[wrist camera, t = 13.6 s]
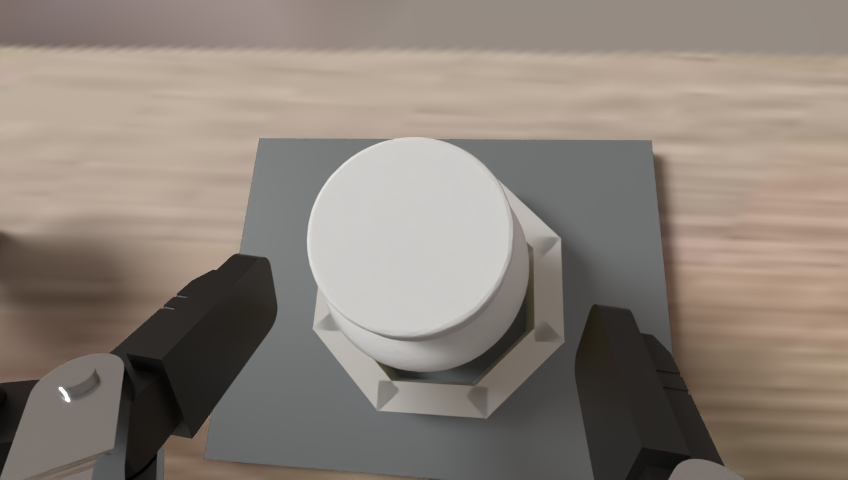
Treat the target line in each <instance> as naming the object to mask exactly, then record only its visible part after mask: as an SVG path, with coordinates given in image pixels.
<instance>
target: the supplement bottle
mask: <svg viewBox="0 0 848 480" xmlns="http://www.w3.org/2000/svg"><path fill="white" fill-rule="evenodd" d="M307 251H308V258H309V264H310V267H311V270H312V273H313V276H314V279H315V281H316V283H317V285H318V287H319V289H320V291H321V292H322V294H323V296H324V299H325V302H326V305H327V308H328V310H329V312H330V314H331V316H332V318H333V320H334V322H335V323H336V325H337V326H338V328H339V329H340V331H341V332H342V333H343V334H344V336H345V337H346V338H347V339H348V340H349V341H350V342H351V343H352V344H353V345H354V346H356V347H357V348H358V349H359V350H360V351H362V352H363V353H364V354H366V355H367V356H369V357H371V358H373V359H374V360H376V361H378V362H381V363H383V364H385V365H388V366H391V367H394V368H397V369H402V370H407V371H417V372H434V371H443V370H447V369H451V368H454V367H457V366H460V365H463V364H465V363H467V362H470V361H472V360H473V359H475V358H477V357H478V356H480V355H481V354H483V353H484V352H486V351H487V350H488V349H489V348H490V347H492V346H493V345H494V344H495V343H496V342H497V341H498V340H499V339H500V338H501V337H502V336H503V335H504V334H505V333H506V331H507V330H508V328H509V327H510V326H511V324H512V323H513V321H514V319H515V317H516V316H517V314H518V312H519V309H520V307H521V305H522V302H523V299H524V297H525V293H526V289H527V285H528V279H529V255H528V248H527V243H526V238H525V235H524V232H523V229H522V227H521V224H520V222H519V220H518V218H517V216H516V215H515V213H514V211H513V210H512V208H511V207H510V204H509V201H508V199H507V196H506V194H505V192H504V190H503V188H502V186H501V184H500V183H499V181H498V180H497V178H496V177H495V176H494V175H493V173H492V172H491V171H490V170H489V169H488V168H487V167H486V166H485V165H484V164H483V163H482V162H481V161H480V160H478V159H477V158H476V157H474V156H473V155H472V154H470V153H468V152H467V151H465V150H463V149H461V148H459V147H457V146H455V145H452V144H450V143H447V142H444V141H440V140H435V139H430V138H421V137H407V138H398V139H393V140H388V141H384V142H381V143H378V144H375V145H373V146H370V147H368V148H366V149H364V150H362V151H360V152H359V153H357V154H355V155H354V156H352V157H351V158H350V159H348V160H347V161H346V162H344V163H343V164H342V165H341V166H340V167H339V168H338V169H337V170H336V171H335V172H334V173H333V174H332V175H331V176H330V178H329V179H328V180H327V182H326V183H325V185H324V186H323V188H322V189H321V191H320V193H319V194H318V196H317V199H316V201H315V203H314V205H313V208H312V211H311V215H310V219H309V224H308V233H307Z"/></svg>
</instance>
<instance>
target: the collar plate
mask: <svg viewBox="0 0 848 480" xmlns="http://www.w3.org/2000/svg"><path fill="white" fill-rule="evenodd" d="M388 140H393V139H278V138H259V143H258V149H257V154H256V160H255V166H254V172H253V178H252V183H251V189H250V195H249V201H248V206H247V212H246V218H245V224H244V229H243V235H242V241H241V247H240V252H239V254H245V255H252V256H260V257H266V258H267V259H268V260H269V262H270V265H271V270H272V276H273V281H274V287H275V293H276V299H277V305H278V309H277V316H276V320H275V323H274V325H273V327H272V329H271V330H270V331H269V333H268V334H267V336H266V337H265V338H264V340H263V341H262V343H261V344H260V345H259V347H258V348H257V349H256V351H255V352H254V354H253V355H252V356H251V358H250V359H249V361H248V362H247V363H246V365H245V366H244V368H243V369H242V370H241V372H240V373H239V374H238V376H237V377H236V379H235V380H234V381H233V383H232V384H231V386H230V387H229V388H228V390H227V391H226V392H225V394H224V395H223V397H222V398H221V399H220V401H219V402H218V404H217V405H216V406H215V408H214V409H213V411H212V414H211V420H210V425H209V431H208V437H207V443H206V448H205V454H204V459H207V460H219V461H230V462H242V463H254V464H266V465H277V466H289V467H301V468H312V469H324V470H336V471H348V472H359V473H371V474H383V475H395V476H406V477H418V478H430V479H441V480H594V476H593V471H592V466H591V460H590V455H589V450H588V444H587V439H586V434H585V428H584V423H583V418H582V412H581V407H580V402H579V396H578V391H577V386H576V380H575V357H576V352H577V349H578V346H579V343H580V340H581V337H582V334H583V330H584V327H585V324H586V321H587V318H588V315H589V312H590V309H591V307H592V306H593V305H594V304H599V305H606V306H613V307H620V308H627V309H630V310H631V312H632V314H633V316H634V318H635V321H636V323H637V326H638V328H639V331H640V333H644V334H651V335H653V336H654V337H655V338H656V339H657V340H658V341H659V342H660V343H661V344H662V345H663V346H664V347H665V348H666V349H667V350H668V351H669V352H670V353H671V355H672V357H673V352H672V342H671V332H670V321H669V311H668V301H667V291H666V281H665V271H664V261H663V251H662V241H661V231H660V221H659V211H658V201H657V191H656V181H655V171H654V161H653V151H652V141H650V140H464V139H435V140H440V141H444V142H447V143H450V144H452V145H455V146H457V147H459V148H461V149H463V150H465V151H467V152H468V153H470V154H472V155H473V156H474V157H476V158H477V159H478V160H480V161H481V162H482V163H483V164H484V165H485V166H486V167H487V168H488V169H489V170H490V171H491V172H492V173H493V175H494V176H495V177H496V178H497V180H498V181H499V183H500V184H501V186H502V188H503V190H504V192H505V194H506V196H507V199H508V201H509V204H510V207H511V208H512V210H513V211H514V213H515V215H516V216H517V218H518V220H519V222H520V224H521V227H522V229H523V232H524V235H525V238H526V243H527V248H528V255H529V279H528V285H527V289H526V293H525V297H524V299H523V302H522V305H521V307H520V309H519V312H518V314H517V316H516V317H515V319H514V321H513V323H512V324H511V326H510V327H509V328H508V330H507V331H506V333H505V334H504V335H503V336H502V337H501V338H500V339H499V340H498V341H497V342H496V343H495V344H494V345H493V346H492V347H490V348H489V349H488V350H487V351H486V352H484V353H483V354H481V355H480V356H478V357H477V358H475V359H473V360H472V361H470V362H467V363H465V364H463V365H460V366H457V367H454V368H451V369H447V370H443V371H434V372H417V371H407V370H402V369H397V368H394V367H391V366H388V365H385V364H383V363H381V362H378V361H376V360H374V359H373V358H371V357H369V356H367V355H366V354H364V353H363V352H362V351H360V350H359V349H358V348H357V347H356V346H354V345H353V344H352V343H351V342H350V341H349V340H348V339H347V338H346V337H345V336H344V334H343V333H342V332H341V331H340V329H339V328H338V326H337V325H336V323H335V322H334V320H333V318H332V316H331V314H330V312H329V310H328V308H327V305H326V302H325V299H324V296H323V294H322V292H321V291H320V289H319V287H318V285H317V283H316V281H315V279H314V276H313V273H312V270H311V267H310V264H309V258H308V251H307V233H308V224H309V219H310V215H311V211H312V208H313V205H314V203H315V201H316V199H317V196H318V194H319V193H320V191H321V189H322V188H323V186H324V185H325V183H326V182H327V180H328V179H329V178H330V176H331V175H332V174H333V173H334V172H335V171H336V170H337V169H338V168H339V167H340V166H341V165H342V164H343V163H344V162H346V161H347V160H348V159H350V158H351V157H352V156H354V155H355V154H357V153H359V152H360V151H362V150H364V149H366V148H368V147H370V146H373V145H375V144H378V143H381V142H384V141H388Z"/></svg>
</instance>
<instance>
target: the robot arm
mask: <svg viewBox="0 0 848 480" xmlns="http://www.w3.org/2000/svg"><path fill="white" fill-rule="evenodd" d="M277 309H278V305H277V299H276V293H275V287H274V281H273V276H272V270H271V265H270V262H269V260H268V259H267V258H266V257H260V256H252V255H245V254H234V255H233V256H231V257H230V258H229V259H228V260H227V261H226V262H225V263H224V264H223V265H222V266H220V267H219V268H218V269H217V270H212V271H210V272H208V273H206V274H204V275H202V276H200V277H198V278H196V279H194V280H192V281H191V282H190V283H189V284H188V285H187V286H185V287H184V288H183V289H182V290H181V291H180V292H179V293H178V294H177V296H176V297H173V298H172V299H171V300H170V301H168V302H167V303H166V304H165V305H164V308H163V309H159V310H158V311H157V312H156V313H155V314H154V315H153V316H151V317H150V318H149V319H148V320H147V321H146V322H145V323H144V324H142V325H141V326H140V327H139V328H138V329H137V330H136V331H134V332H133V333H132V334H131V335H130V336H129V337H128V338H127V339H125V340H124V341H123V342H122V343H121V344H120V345H119V346H117V347H116V348H115V349H114V350H113V351H112V352H111V353H96V354H89V355H85V356H81V357H78V358H75V359H73V360H70V361H68V362H66V363H64V364H62V365H60V366H58V367H56V368H55V369H53V370H52V371H50V372H49V373H47V374H46V375H45V376H44V377H43V378H42V379H40V380H30V381H20V382H9V383H0V480H164V451H163V448H162V445H163V444H164V443H165V441H166V440H167V439H168V438H169V436H170V435H176V436H181V437H186V438H191V439H192V438H193V437H194V435H195V434H196V433H197V431H198V430H199V429H200V427H201V426H202V424H203V423H204V422H205V420H206V419H207V417H208V416H209V415H210V413H211V412H212V411H213V409H214V408H215V406H216V405H217V404H218V402H219V401H220V399H221V398H222V397H223V395H224V394H225V392H226V391H227V390H228V388H229V387H230V386H231V384H232V383H233V381H234V380H235V379H236V377H237V376H238V374H239V373H240V372H241V370H242V369H243V368H244V366H245V365H246V363H247V362H248V361H249V359H250V358H251V356H252V355H253V354H254V352H255V351H256V349H257V348H258V347H259V345H260V344H261V343H262V341H263V340H264V338H265V337H266V336H267V334H268V333H269V331H270V330H271V329H272V327H273V325H274V323H275V320H276V316H277ZM575 380H576V386H577V391H578V396H579V402H580V407H581V412H582V418H583V423H584V428H585V434H586V439H587V444H588V450H589V455H590V460H591V466H592V471H593V476H594V480H745V479H743V478H742V477H741V476H739V475H738V474H736V473H735V472H733V471H731V470H730V469H728V468H726V467H725V466H724V464H723V462H722V460H721V458H720V456H719V454H718V452H717V450H716V448H715V445H714V443H713V441H712V439H711V437H710V435H709V433H708V431H707V429H706V426H705V424H704V422H703V420H702V418H701V416H700V414H699V412H698V410H697V408H696V405H695V403H694V401H693V399H692V397H691V395H688V389H687V386H686V384H685V382H684V380H683V378H682V377H680V372H679V370H678V368H677V365H676V363H675V361H674V359H673V357H672V355H671V353H670V352H669V351H668V350H667V349H666V348H665V347H664V346H663V345H662V344H661V343H660V342H659V341H658V340H657V339H656V338H655V337H654V336H653V335H651V334H644V333H640V331H639V328H638V326H637V323H636V321H635V318H634V316H633V314H632V312H631V310H630V309H627V308H620V307H613V306H606V305H599V304H594V305H593V306H592V307H591V309H590V312H589V315H588V318H587V321H586V324H585V327H584V330H583V334H582V337H581V340H580V343H579V346H578V349H577V352H576V357H575Z"/></svg>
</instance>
